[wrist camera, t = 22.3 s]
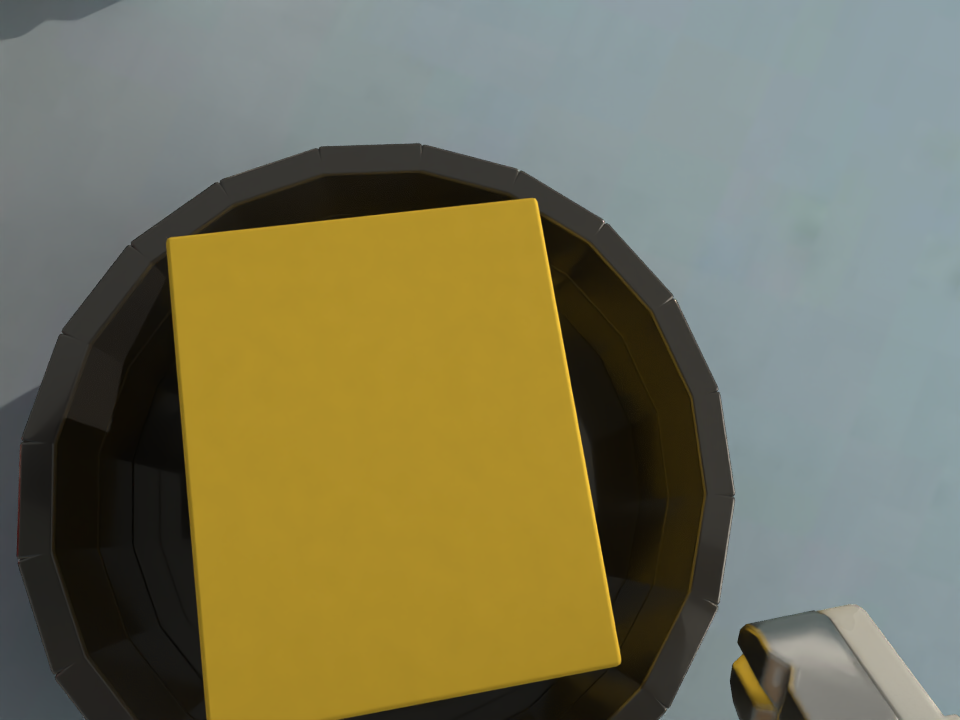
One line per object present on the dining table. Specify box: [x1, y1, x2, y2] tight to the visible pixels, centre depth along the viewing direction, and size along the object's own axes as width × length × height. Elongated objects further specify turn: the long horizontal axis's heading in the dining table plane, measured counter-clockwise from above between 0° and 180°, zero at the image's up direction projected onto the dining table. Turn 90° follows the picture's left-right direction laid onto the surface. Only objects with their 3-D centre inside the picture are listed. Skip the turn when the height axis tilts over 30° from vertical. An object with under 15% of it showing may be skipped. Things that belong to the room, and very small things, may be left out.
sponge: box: [166, 198, 621, 720], centre depth 13 cm, size 6×5×8 cm
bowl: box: [17, 143, 735, 720], centre depth 16 cm, size 12×12×4 cm
